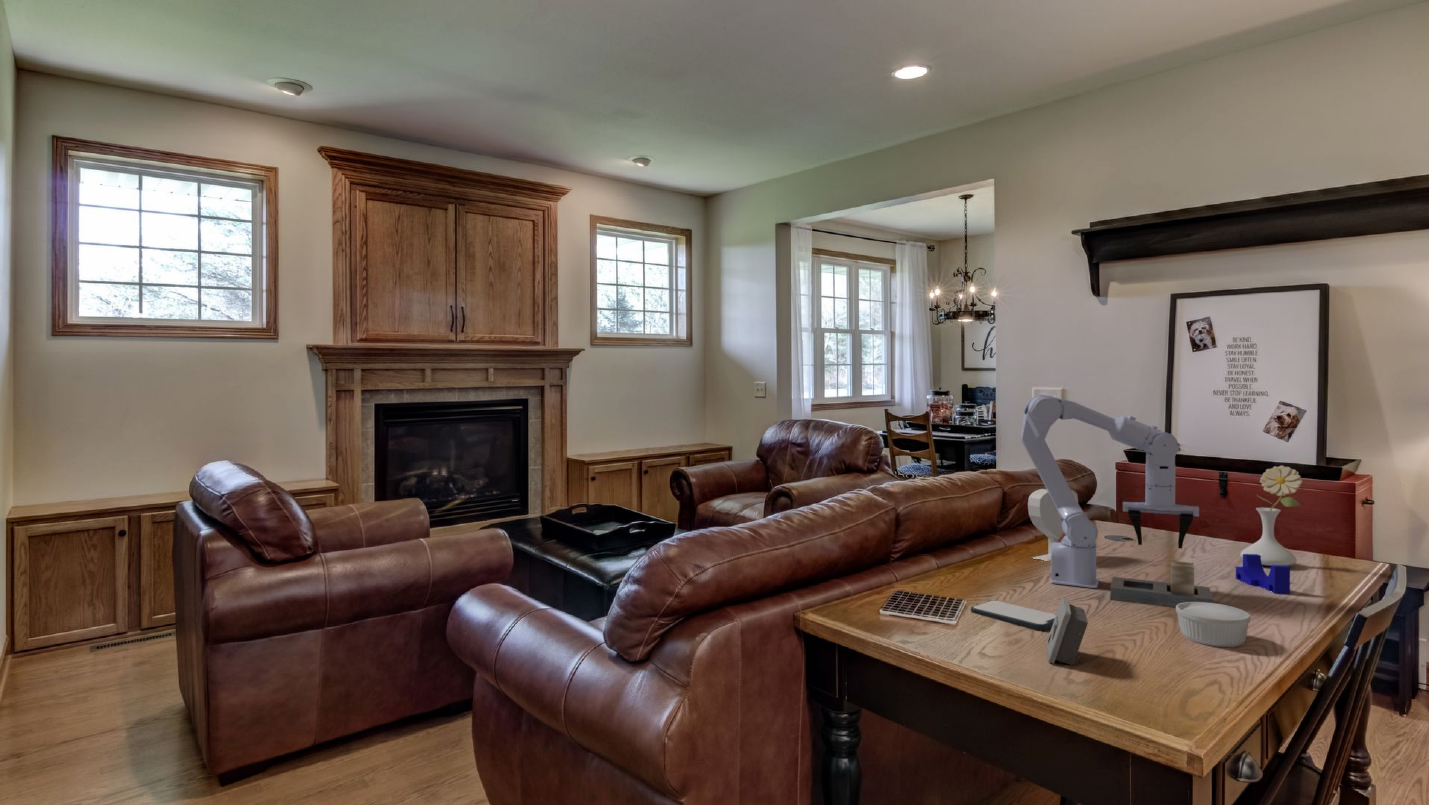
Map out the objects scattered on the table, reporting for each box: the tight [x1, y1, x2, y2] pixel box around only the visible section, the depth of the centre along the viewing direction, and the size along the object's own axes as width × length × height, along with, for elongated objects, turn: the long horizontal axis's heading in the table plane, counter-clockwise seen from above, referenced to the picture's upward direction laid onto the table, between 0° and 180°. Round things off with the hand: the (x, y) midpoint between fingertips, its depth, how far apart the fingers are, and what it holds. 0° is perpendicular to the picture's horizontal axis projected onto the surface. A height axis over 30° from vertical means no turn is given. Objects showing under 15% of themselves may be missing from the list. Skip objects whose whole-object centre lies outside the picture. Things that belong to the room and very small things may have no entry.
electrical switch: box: [1046, 597, 1089, 666], centre depth 126 cm, size 9×5×9 cm, turn 158°
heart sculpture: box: [1027, 488, 1079, 561], centre depth 196 cm, size 16×5×18 cm, turn 119°
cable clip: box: [1235, 554, 1291, 595], centre depth 167 cm, size 12×4×6 cm, turn 173°
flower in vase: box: [1239, 465, 1303, 567], centre depth 185 cm, size 13×11×25 cm
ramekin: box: [1175, 602, 1251, 648], centre depth 134 cm, size 11×11×5 cm
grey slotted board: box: [1110, 576, 1213, 608], centre depth 158 cm, size 18×10×2 cm, turn 59°
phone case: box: [970, 600, 1056, 632], centre depth 147 cm, size 9×2×16 cm
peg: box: [1170, 560, 1195, 595], centre depth 156 cm, size 4×4×8 cm
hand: (1159, 545), depth 166 cm, fingers open, 7 cm apart
